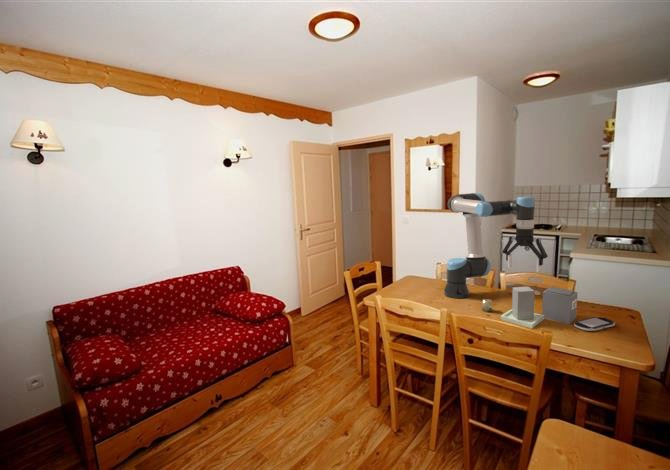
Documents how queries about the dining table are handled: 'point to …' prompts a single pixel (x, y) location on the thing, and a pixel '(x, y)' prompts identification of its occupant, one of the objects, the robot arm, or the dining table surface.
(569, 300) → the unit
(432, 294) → the dining table surface
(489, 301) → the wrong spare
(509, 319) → the tray
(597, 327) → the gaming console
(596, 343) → the dining table surface
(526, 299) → the skincare box
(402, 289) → the dining table surface
